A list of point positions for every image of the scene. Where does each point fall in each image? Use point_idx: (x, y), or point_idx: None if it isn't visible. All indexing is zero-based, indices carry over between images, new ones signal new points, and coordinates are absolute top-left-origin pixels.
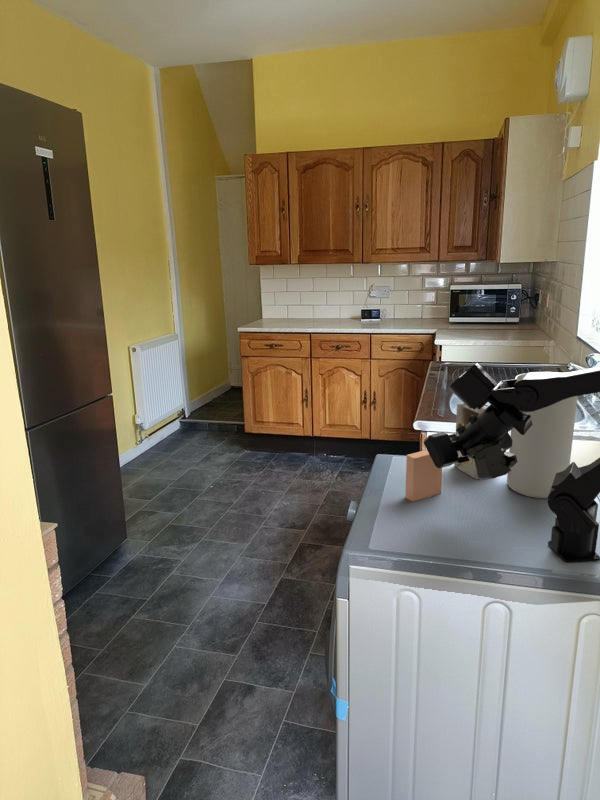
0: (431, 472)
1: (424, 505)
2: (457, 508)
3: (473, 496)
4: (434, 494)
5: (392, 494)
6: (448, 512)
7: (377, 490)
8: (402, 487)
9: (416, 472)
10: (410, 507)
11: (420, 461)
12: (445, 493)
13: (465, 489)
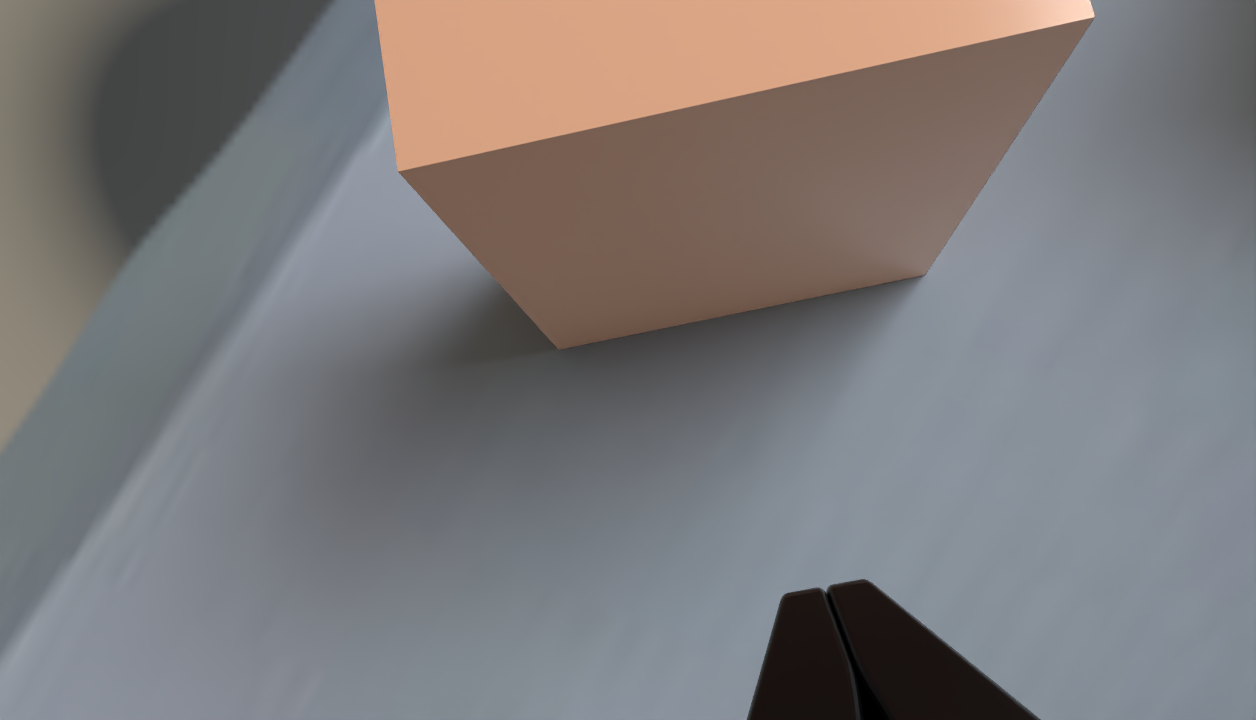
0: (801, 210)
1: (625, 463)
2: None
3: (1235, 458)
4: (838, 290)
5: None
6: None
7: None
8: None
9: (528, 248)
10: (477, 453)
11: (563, 176)
12: (970, 293)
13: (1236, 277)
